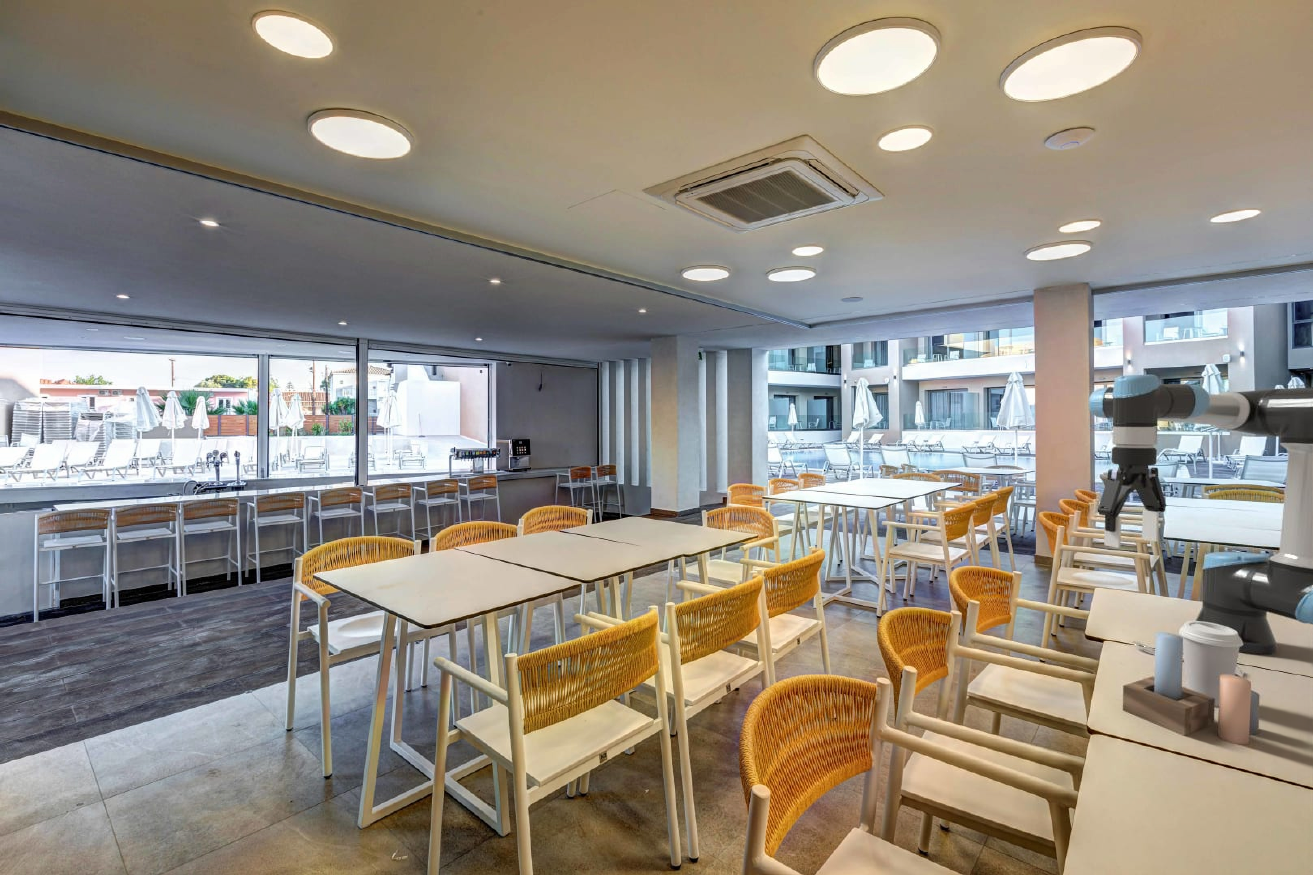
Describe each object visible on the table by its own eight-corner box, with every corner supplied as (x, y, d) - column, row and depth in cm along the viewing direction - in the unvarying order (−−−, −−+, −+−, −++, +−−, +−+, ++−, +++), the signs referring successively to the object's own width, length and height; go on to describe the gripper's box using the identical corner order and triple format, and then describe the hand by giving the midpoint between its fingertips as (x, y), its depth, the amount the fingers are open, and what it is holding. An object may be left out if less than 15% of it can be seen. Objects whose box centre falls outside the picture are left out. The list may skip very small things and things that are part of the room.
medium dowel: (1224, 730, 108) (1226, 672, 107) (1253, 741, 104) (1255, 681, 103) (1213, 735, 106) (1215, 676, 106) (1242, 746, 102) (1244, 686, 102)
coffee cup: (1254, 713, 114) (1257, 638, 113) (1197, 708, 115) (1200, 635, 115) (1217, 690, 123) (1220, 620, 122) (1166, 686, 125) (1167, 618, 124)
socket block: (1152, 699, 119) (1152, 676, 119) (1214, 723, 110) (1214, 698, 110) (1122, 710, 115) (1123, 685, 115) (1184, 735, 106) (1185, 709, 106)
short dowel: (1234, 720, 111) (1235, 685, 111) (1262, 731, 107) (1263, 694, 107) (1223, 725, 109) (1224, 689, 109) (1252, 736, 106) (1253, 698, 105)
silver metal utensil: (1130, 635, 144) (1136, 631, 146) (1128, 649, 144) (1134, 644, 147) (1243, 668, 128) (1247, 663, 130) (1241, 684, 128) (1245, 678, 131)
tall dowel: (1160, 709, 115) (1162, 630, 114) (1185, 719, 111) (1187, 638, 111) (1149, 714, 114) (1150, 634, 113) (1173, 723, 110) (1175, 641, 109)
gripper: (1147, 443, 134) (1145, 534, 134) (1079, 447, 124) (1076, 545, 125) (1187, 445, 127) (1185, 541, 127) (1118, 449, 117) (1115, 552, 118)
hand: (1131, 543), depth 126 cm, fingers open, 13 cm apart
